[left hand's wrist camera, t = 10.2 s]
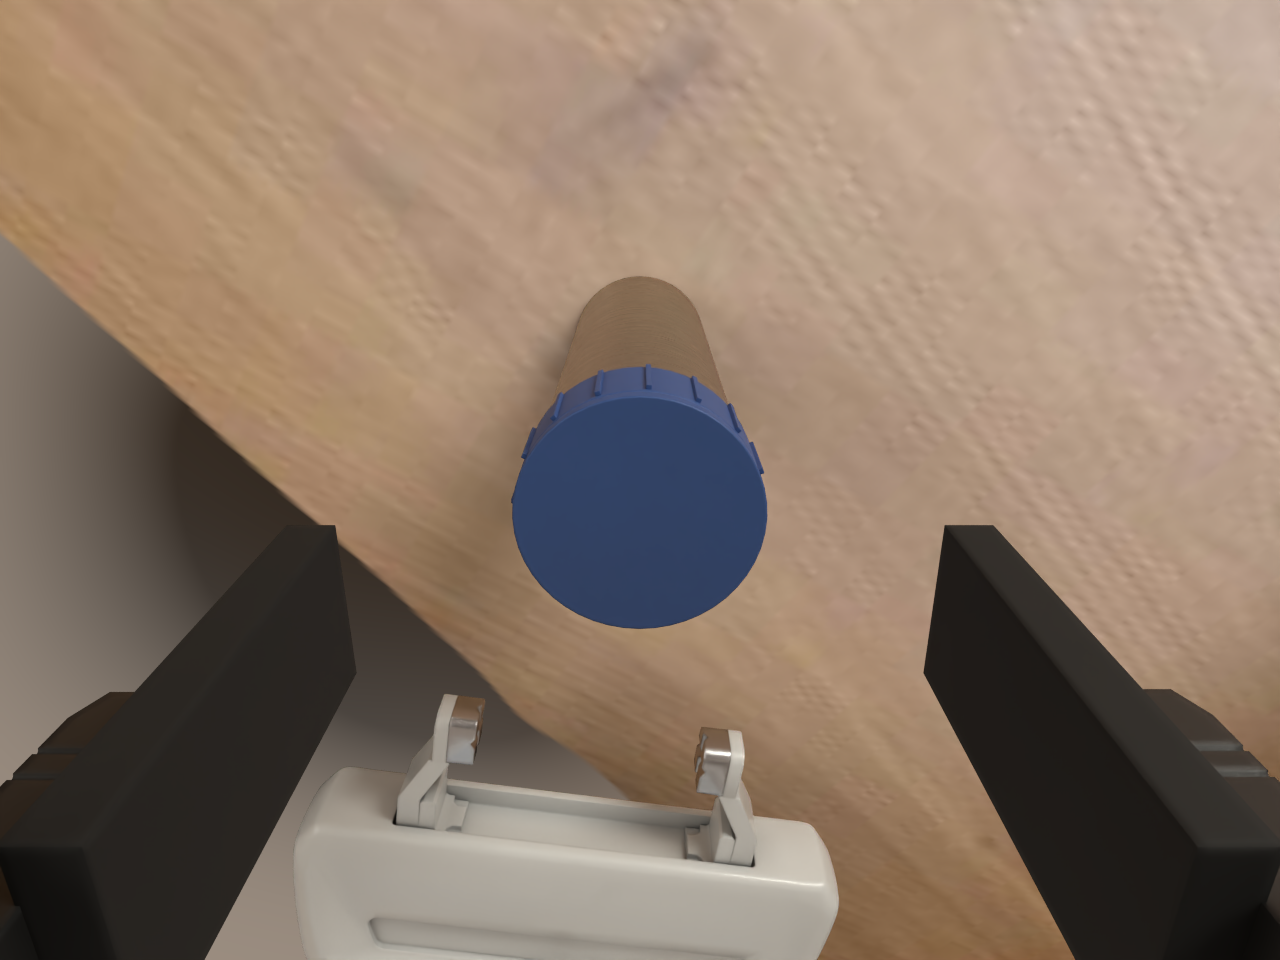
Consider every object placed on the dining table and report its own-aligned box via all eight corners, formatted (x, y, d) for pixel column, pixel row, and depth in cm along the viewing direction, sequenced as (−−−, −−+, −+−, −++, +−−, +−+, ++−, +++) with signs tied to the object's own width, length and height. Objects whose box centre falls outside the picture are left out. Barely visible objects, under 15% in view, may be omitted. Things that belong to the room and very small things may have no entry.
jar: (664, 251, 30) (686, 354, 16) (725, 363, 32) (795, 548, 18) (552, 316, 31) (477, 469, 17) (617, 422, 33) (599, 646, 18)
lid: (685, 319, 18) (692, 344, 16) (794, 515, 19) (812, 562, 17) (479, 435, 19) (459, 474, 16) (599, 613, 20) (595, 669, 18)
